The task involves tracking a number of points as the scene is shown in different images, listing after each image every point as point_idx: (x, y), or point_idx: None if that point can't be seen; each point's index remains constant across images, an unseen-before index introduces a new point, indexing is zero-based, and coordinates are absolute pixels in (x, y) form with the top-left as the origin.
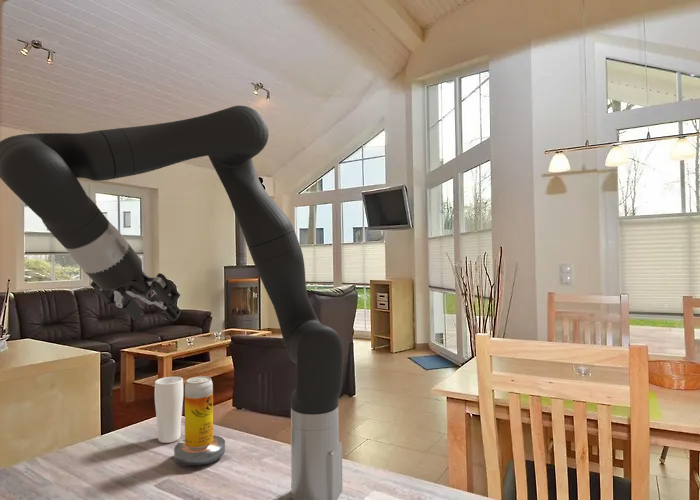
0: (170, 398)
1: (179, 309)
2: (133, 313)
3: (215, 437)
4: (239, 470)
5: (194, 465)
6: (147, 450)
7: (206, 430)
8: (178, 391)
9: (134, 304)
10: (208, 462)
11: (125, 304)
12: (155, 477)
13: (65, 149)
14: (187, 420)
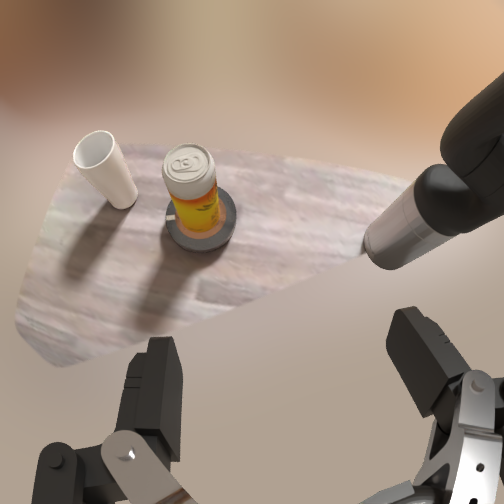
0: (114, 173)
1: (441, 331)
2: (179, 399)
3: None
4: (275, 229)
5: None
6: (118, 231)
7: (217, 210)
8: (119, 157)
9: (166, 399)
10: (231, 235)
11: (169, 463)
12: (182, 283)
13: None
14: (189, 216)
